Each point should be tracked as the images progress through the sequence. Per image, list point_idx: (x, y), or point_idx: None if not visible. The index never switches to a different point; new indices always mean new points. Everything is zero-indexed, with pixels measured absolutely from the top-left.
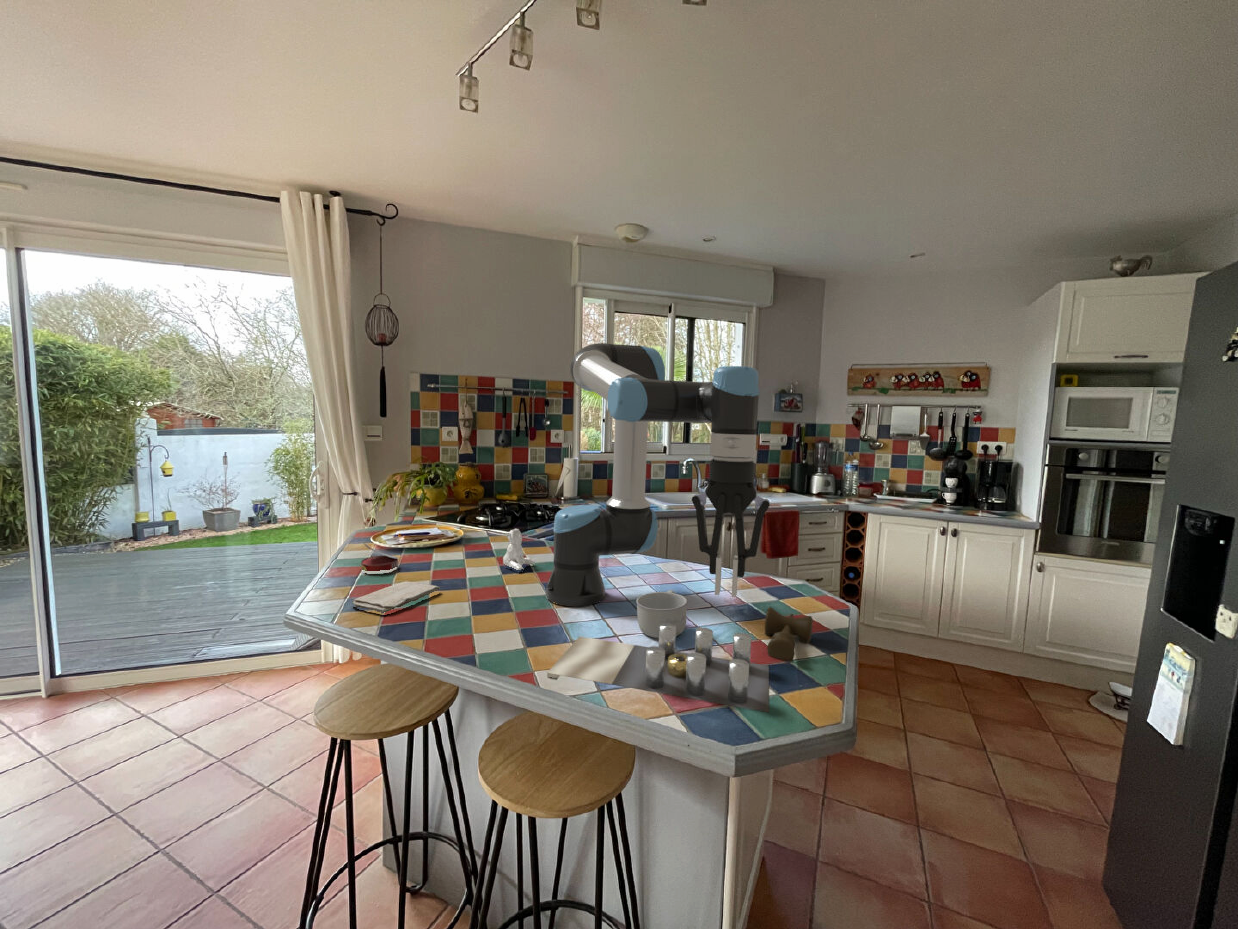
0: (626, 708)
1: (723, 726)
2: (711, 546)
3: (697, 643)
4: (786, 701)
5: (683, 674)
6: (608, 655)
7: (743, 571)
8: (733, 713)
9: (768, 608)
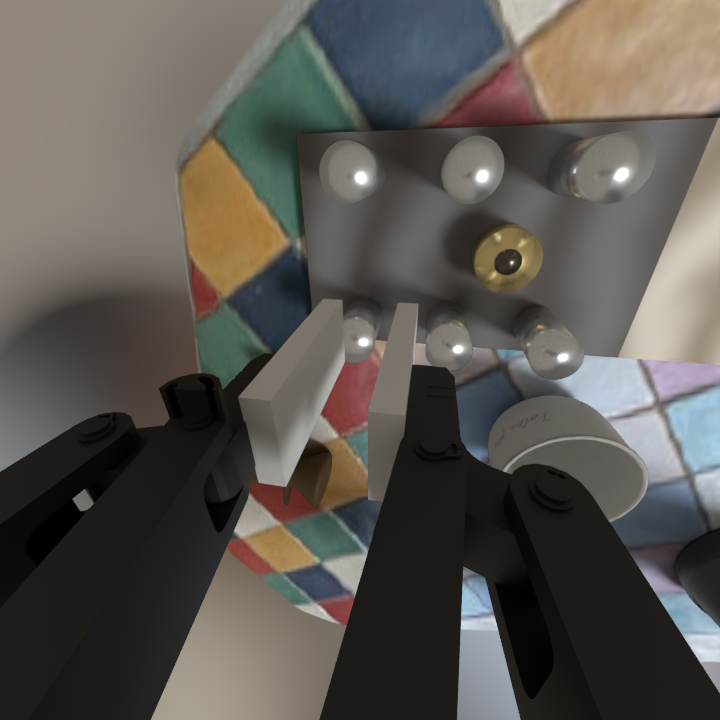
0: (667, 15)
1: (391, 41)
2: (457, 509)
3: (464, 324)
4: (274, 218)
5: (494, 227)
6: (707, 286)
7: (247, 371)
8: (372, 120)
9: (316, 498)
